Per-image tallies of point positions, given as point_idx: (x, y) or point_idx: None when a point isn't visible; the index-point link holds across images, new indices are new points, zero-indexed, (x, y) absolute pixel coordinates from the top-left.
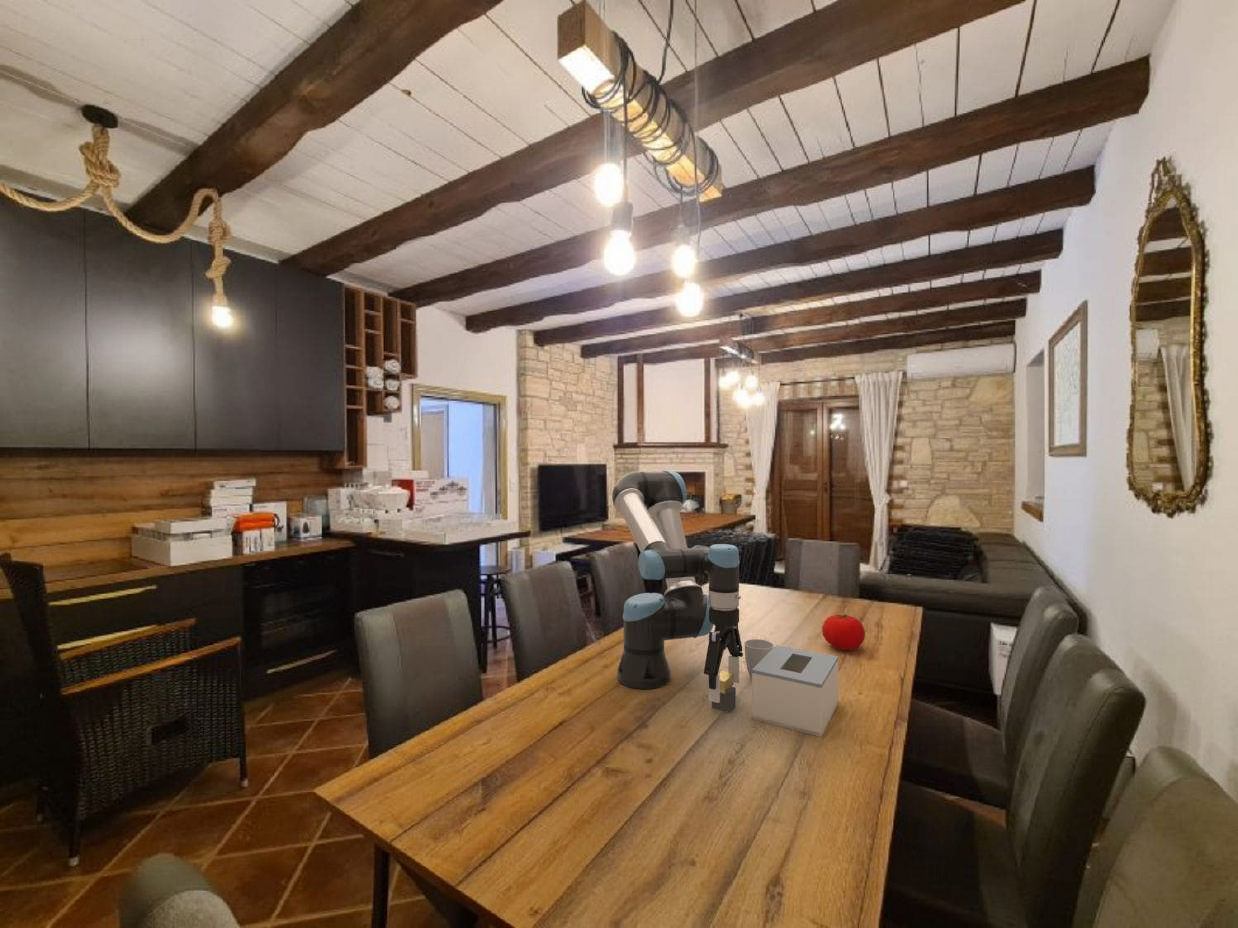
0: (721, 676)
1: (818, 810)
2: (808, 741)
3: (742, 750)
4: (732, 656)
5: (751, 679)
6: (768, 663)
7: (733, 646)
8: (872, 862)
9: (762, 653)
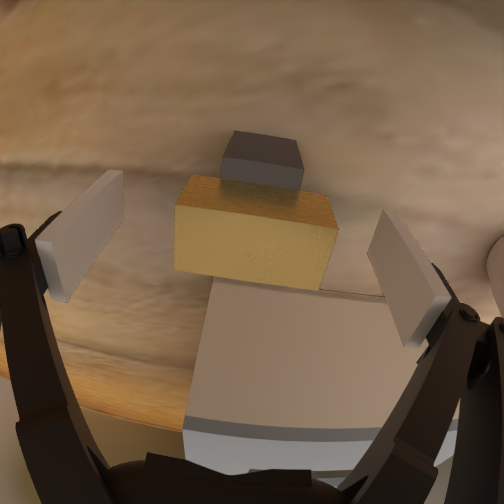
0: (237, 240)
1: None
2: (174, 372)
3: None
4: (434, 315)
5: (502, 237)
6: (292, 454)
7: (386, 422)
8: (8, 378)
9: None
